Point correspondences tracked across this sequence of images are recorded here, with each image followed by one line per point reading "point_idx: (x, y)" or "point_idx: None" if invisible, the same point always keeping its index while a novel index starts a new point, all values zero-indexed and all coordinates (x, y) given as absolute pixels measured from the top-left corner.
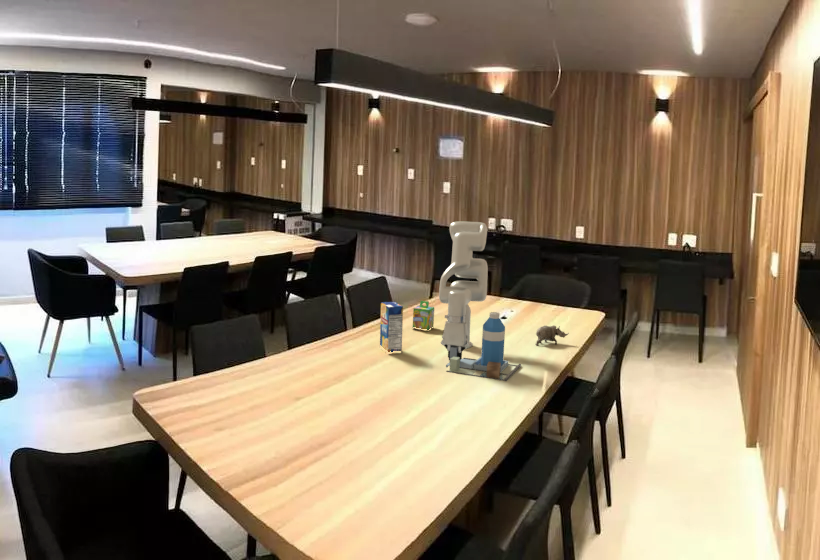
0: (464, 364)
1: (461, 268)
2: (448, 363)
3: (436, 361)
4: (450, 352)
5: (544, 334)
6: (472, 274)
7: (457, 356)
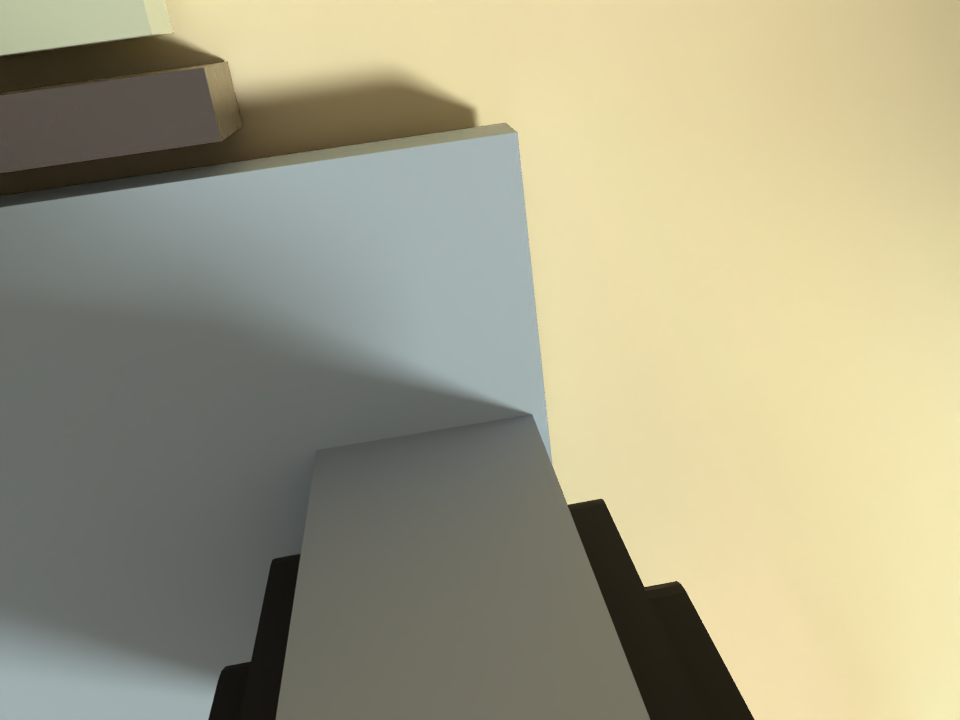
0: (65, 540)
1: None
2: (523, 334)
3: (946, 480)
4: (591, 660)
5: None
6: None
7: None
